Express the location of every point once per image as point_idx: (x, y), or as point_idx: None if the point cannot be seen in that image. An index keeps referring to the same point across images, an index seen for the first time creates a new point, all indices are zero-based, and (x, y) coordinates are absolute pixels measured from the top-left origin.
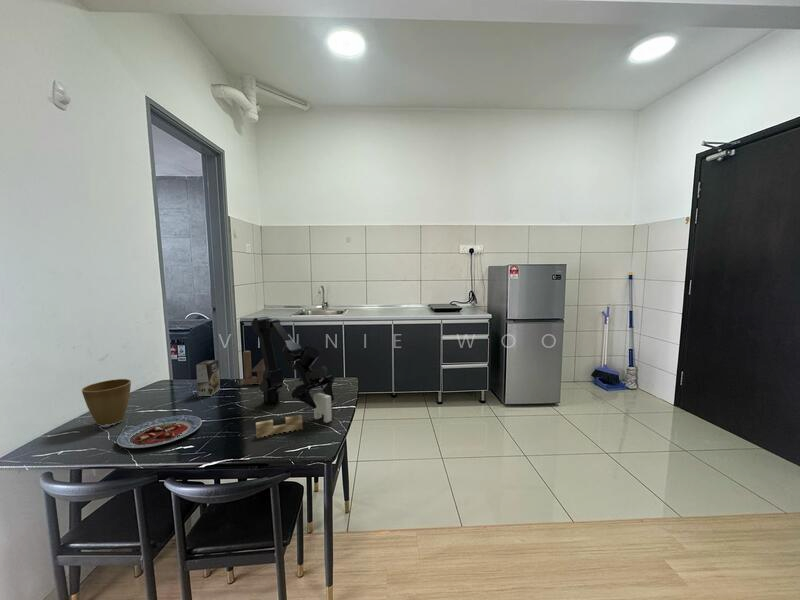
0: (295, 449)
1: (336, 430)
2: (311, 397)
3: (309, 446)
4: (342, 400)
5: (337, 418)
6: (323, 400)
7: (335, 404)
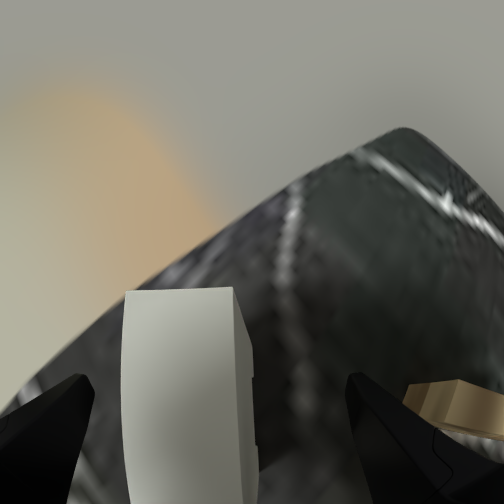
0: (485, 228)
1: (286, 220)
2: (418, 462)
3: (445, 204)
4: None
5: None
6: (241, 364)
7: None
